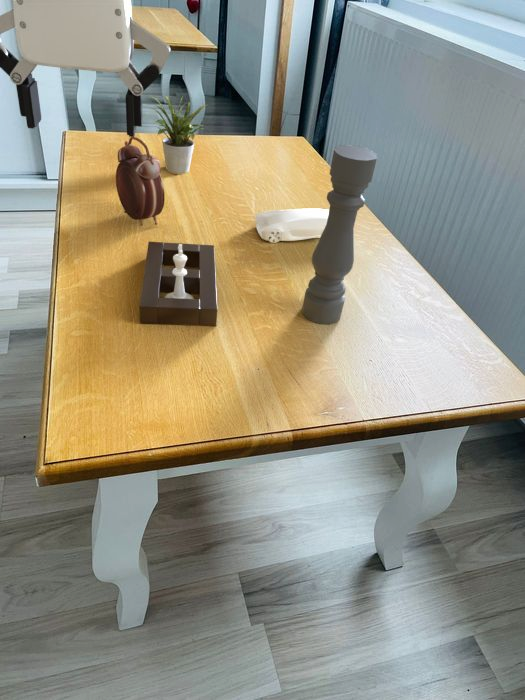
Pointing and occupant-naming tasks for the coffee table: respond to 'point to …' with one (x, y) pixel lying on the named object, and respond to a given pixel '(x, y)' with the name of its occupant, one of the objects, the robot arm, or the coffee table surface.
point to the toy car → (291, 224)
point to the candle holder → (338, 233)
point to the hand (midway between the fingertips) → (83, 128)
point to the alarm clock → (139, 182)
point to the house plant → (178, 138)
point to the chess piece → (179, 276)
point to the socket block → (164, 282)
